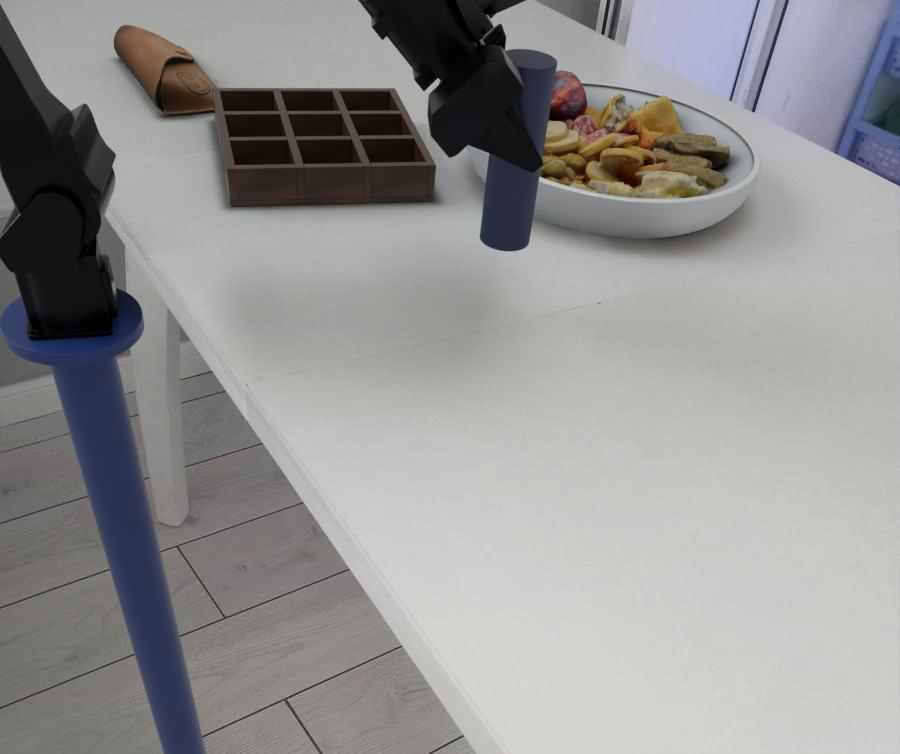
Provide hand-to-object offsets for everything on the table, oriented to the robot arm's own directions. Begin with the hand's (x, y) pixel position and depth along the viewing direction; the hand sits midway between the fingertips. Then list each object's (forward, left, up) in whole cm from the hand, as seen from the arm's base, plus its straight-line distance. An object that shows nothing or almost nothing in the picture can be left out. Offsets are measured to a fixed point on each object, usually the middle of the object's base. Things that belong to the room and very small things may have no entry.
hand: (534, 155), depth 66 cm
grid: (-12, +30, -12) cm, 34 cm away
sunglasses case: (-26, +51, -13) cm, 58 cm away
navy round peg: (-1, 0, -7) cm, 7 cm away
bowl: (+17, +23, -13) cm, 31 cm away
